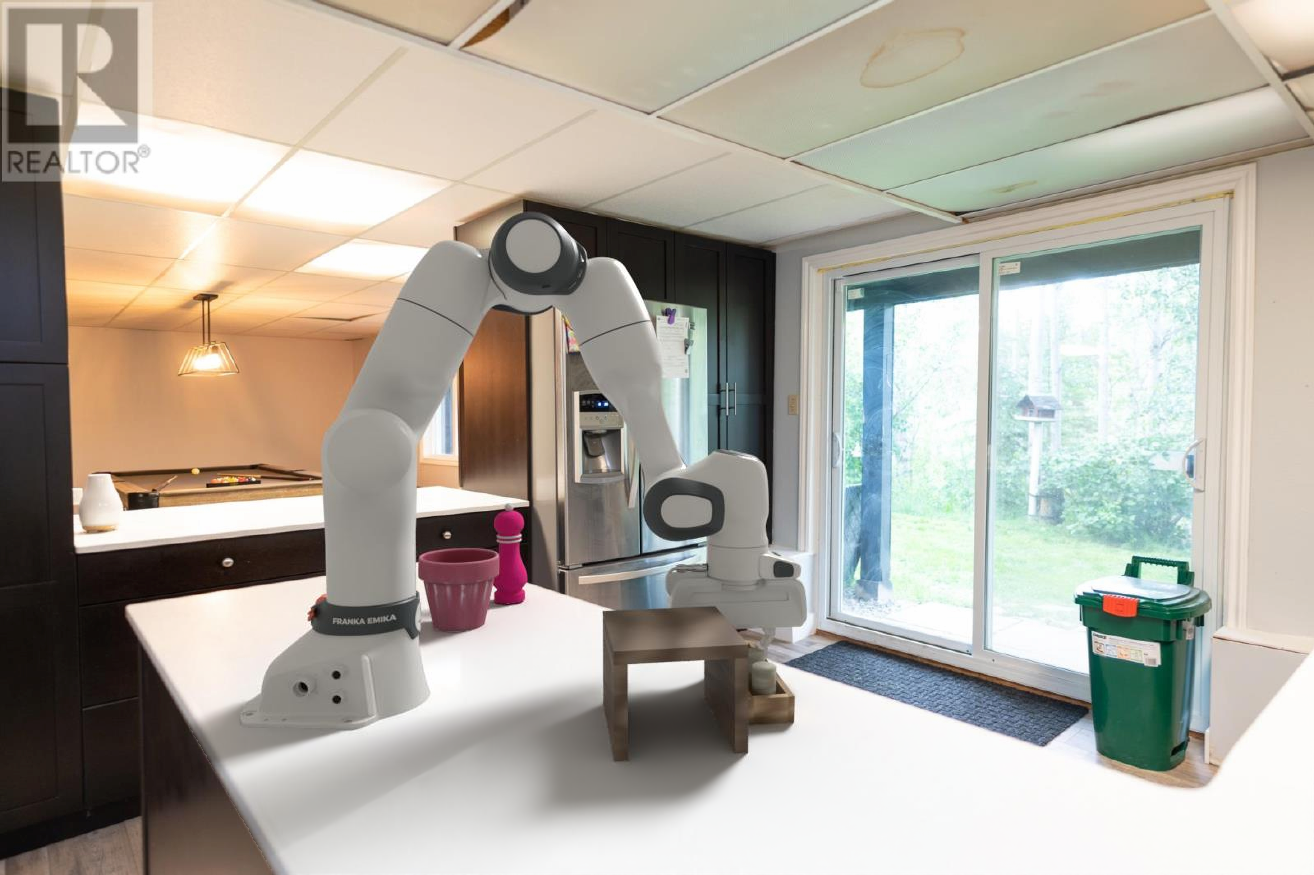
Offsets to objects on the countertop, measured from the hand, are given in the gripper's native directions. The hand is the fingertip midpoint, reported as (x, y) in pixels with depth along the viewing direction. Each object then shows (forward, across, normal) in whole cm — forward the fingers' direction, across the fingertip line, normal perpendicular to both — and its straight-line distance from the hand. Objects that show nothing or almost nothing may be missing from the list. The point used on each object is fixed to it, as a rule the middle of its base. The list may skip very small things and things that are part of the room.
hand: (735, 658), depth 103 cm
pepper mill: (+3, -35, +49) cm, 60 cm away
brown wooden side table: (+3, -12, -15) cm, 19 cm away
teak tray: (+2, 0, -7) cm, 7 cm away
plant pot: (+4, -43, +33) cm, 54 cm away
